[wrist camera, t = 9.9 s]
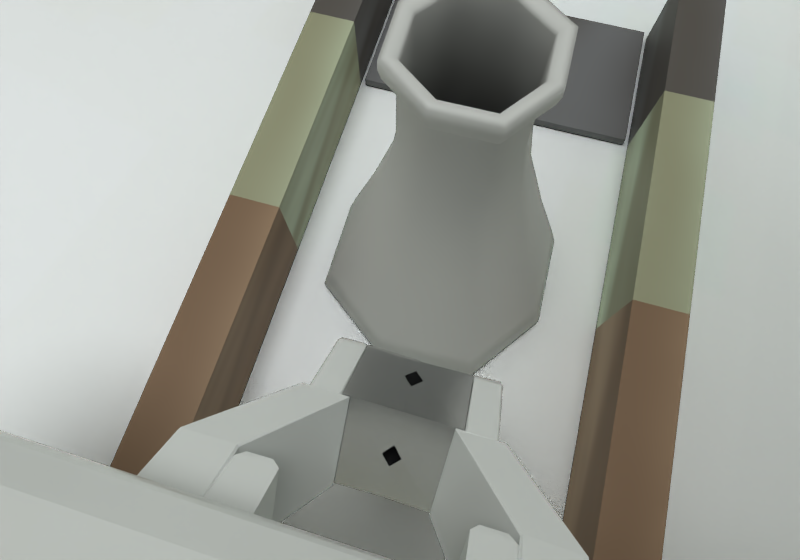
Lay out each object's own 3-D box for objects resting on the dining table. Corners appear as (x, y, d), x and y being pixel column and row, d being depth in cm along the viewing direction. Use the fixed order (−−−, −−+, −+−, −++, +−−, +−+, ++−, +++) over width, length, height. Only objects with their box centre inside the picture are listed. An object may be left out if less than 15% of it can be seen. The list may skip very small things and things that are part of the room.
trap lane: (685, 47, 21) (728, -19, 19) (555, 966, 13) (598, 1104, 10) (362, -22, 23) (356, -94, 20) (38, 767, 14) (-54, 839, 11)
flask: (409, 136, 20) (415, -165, 11) (588, 237, 19) (775, -7, 9) (287, 293, 18) (162, 92, 9) (477, 420, 17) (572, 342, 7)
